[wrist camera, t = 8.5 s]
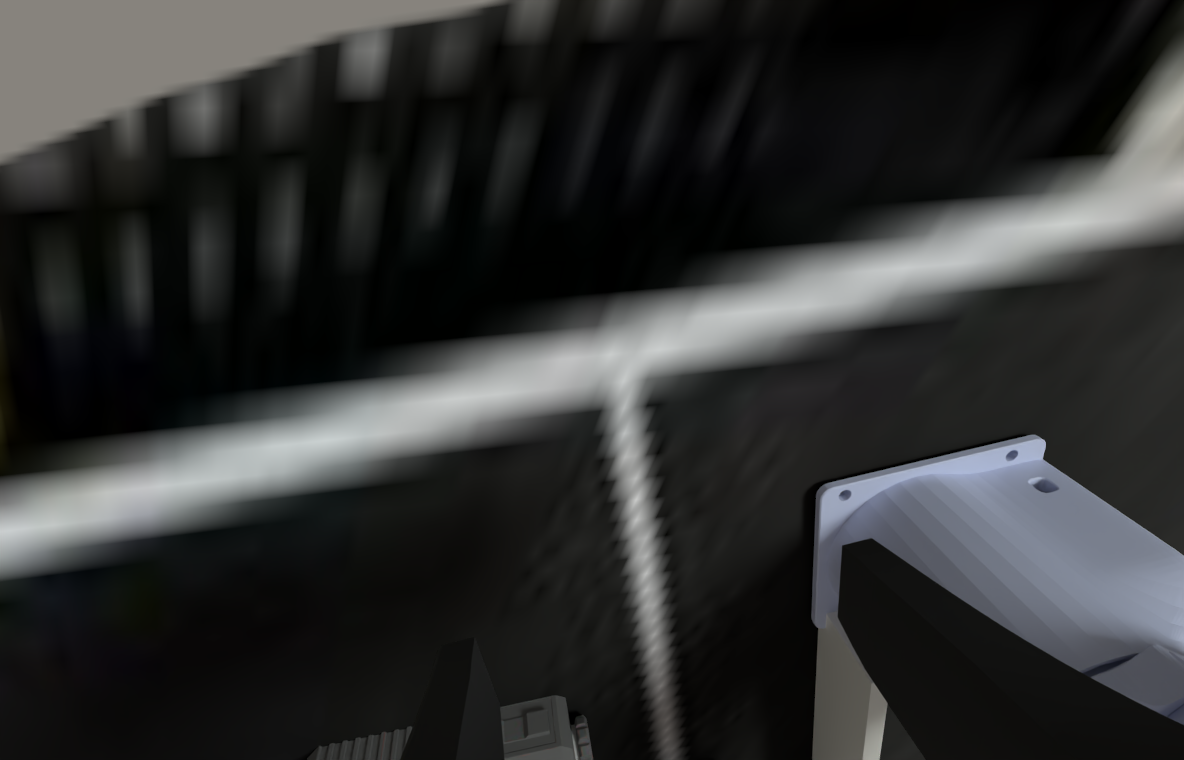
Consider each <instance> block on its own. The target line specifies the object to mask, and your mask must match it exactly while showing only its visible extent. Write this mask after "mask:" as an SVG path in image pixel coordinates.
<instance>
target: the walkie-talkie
mask: <svg viewBox="0 0 1184 760" xmlns="http://www.w3.org/2000/svg"><path fill="white" fill-rule="evenodd" d="M500 712H501V723H502V734H503V747H504V760H593V756H592V750H591V743H590V737H589V731H588V725H587V719H586V717H585V716H584V715H582V716H577V717H576V718H575V724H574V725H571V724H570V720H569V715H568V709H567V704H566V698H565V697H561V696H556V695H554V696H550V697H545V698H540V699H536V700H531V701H526V702H522V703H517V704H513V705H508V706H503V707H500ZM411 730H412V727H411V726H410V727H407V729H403V730H399V729H396V730H394V732H389V733H386V732H382V733H381V734H380V735H375V736H374V735H369V737H366V738H360V737H359V738H356V740H352V741H347V740H345V741H343V742H342V743H338V744H334V743H331V744H330V745H329V746H324V747H321V746H319V747H318V748H317V749H316V750H315V751H314V752H313V753H312V754H311V755H310V756H309V757H308V758H307V760H400V759H401V756H402V753H403V751H404V748H405V746H406V743H407V740H408V738H409V735H410V733H411Z"/></svg>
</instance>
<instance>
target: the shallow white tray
mask: <svg viewBox="0 0 1184 760" xmlns="http://www.w3.org/2000/svg"><path fill="white" fill-rule="evenodd" d="M886 710H887V702H886V700H885V699H884V697H883V696H882V694H881V693H880V691H879V690H878V688H877V687H876V685H875V684H874V682H873V681H872V679H871V678H870V676H869V675H868V673H867V672H866V670H865V669H864V667H863V665H862V663H861V661H860V659H859V658H858V656H857V654H856V652H855V650H854V648H853V647H852V645H851V643H850V641H849V639H848V637H847V635H846V633H845V631H844V629H843V627H842V625H841V623H840V621H839V619H838V611H835V612H831V613H827V614H826V628H823V629H821V628H818V645H817V666H816V687H815V708H814V730H813V751H812V760H879V759H880V752H881V745H882V738H883V731H884V724H885V717H886Z"/></svg>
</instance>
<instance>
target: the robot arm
mask: <svg viewBox="0 0 1184 760" xmlns="http://www.w3.org/2000/svg"><path fill="white" fill-rule="evenodd" d="M1045 447H1046V443H1045V441H1044V440H1043V439H1042V438H1040V437H1038V436H1036V435H1028V436H1024V437H1020V438H1016V439H1011V440H1007V441H1003V442H999V443H995V444H990V445H986V446H982V447H978V448H973V449H969V450H965V451H961V452H957V453H952V454H948V455H944V456H940V457H935V458H931V459H927V460H923V461H919V462H914V463H910V464H906V465H902V466H897V467H893V468H889V469H885V470H881V471H876V472H872V473H868V474H864V475H859V476H855V477H851V478H847V479H843V480H838V481H834V482H830V483H827V484H824V485H823V486H821V487H820V488H819V490H818V491H817V494H816V509H815V535H814V561H813V587H812V613H811V618H812V621H813V623H814V624H815V626H816V627H817V628H821V629H823V628H826V614H827V613H831V612H835V611H838V619H839V621H840V623H841V625H842V627H843V629H844V631H845V633H846V635H847V637H848V639H849V641H850V643H851V645H852V647H853V648H854V650H855V652H856V654H857V656H858V658H859V659H860V661H861V663H862V665H863V667H864V669H865V670H866V672H867V673H868V675H869V676H870V678H871V679H872V681H873V682H874V684H875V685H876V687H877V688H878V690H879V691H880V693H881V694H882V696H883V697H884V699H885V700H886V702H887V703H888V705H889V706H890V708H891V709H892V711H893V712H894V713H895V715H896V716H897V718H898V719H899V721H900V722H901V724H902V725H903V727H904V728H905V730H906V731H907V733H908V734H909V735H910V737H911V738H912V740H913V741H914V743H915V744H916V746H917V747H918V749H919V750H920V752H921V753H922V755H923V756H924V758H925V759H926V760H1184V556H1183V555H1182V554H1181V553H1179V552H1178V551H1177V550H1175V549H1174V548H1172V547H1171V546H1169V545H1168V544H1166V543H1165V542H1163V541H1162V540H1160V539H1159V538H1158V537H1156V536H1155V535H1153V534H1152V533H1150V532H1149V531H1147V530H1146V529H1144V528H1143V527H1141V526H1140V525H1138V524H1137V523H1135V522H1134V521H1133V520H1131V519H1130V518H1128V517H1127V516H1125V515H1124V514H1122V513H1121V512H1119V511H1118V510H1116V509H1115V508H1113V507H1112V506H1110V505H1109V504H1108V503H1106V502H1105V501H1103V500H1102V499H1100V498H1099V497H1097V496H1096V495H1094V494H1093V493H1091V492H1090V491H1088V490H1087V489H1085V488H1084V487H1083V486H1081V485H1080V484H1078V483H1077V482H1075V481H1074V480H1072V479H1071V478H1069V477H1068V476H1066V475H1065V474H1063V473H1062V472H1060V471H1059V470H1058V469H1056V468H1055V467H1053V466H1052V465H1050V464H1049V463H1047V462H1046V461H1044V460H1043V455H1044V451H1045ZM842 491H844V492H843V493H842V494H840V493H841V492H842ZM400 760H504V747H503V734H502V723H501V712H500V704H499V701H498V699H497V696H496V693H495V690H494V688H493V685H492V682H491V680H490V677H489V674H488V672H487V669H486V666H485V664H484V661H483V658H482V656H481V653H480V650H479V647H478V645H477V642H476V639H475V637H473V638H469V639H465V640H461V641H456V642H452V643H448V644H444V645H442V646H441V647H440V648H439V650H438V651H437V654H436V658H435V661H434V665H433V668H432V671H431V675H430V678H429V681H428V684H427V687H426V690H425V693H424V696H423V699H422V702H421V705H420V708H419V711H418V713H417V716H416V719H415V722H414V725H413V727H412V730H411V733H410V735H409V738H408V740H407V743H406V746H405V748H404V751H403V753H402V756H401V759H400Z"/></svg>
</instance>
